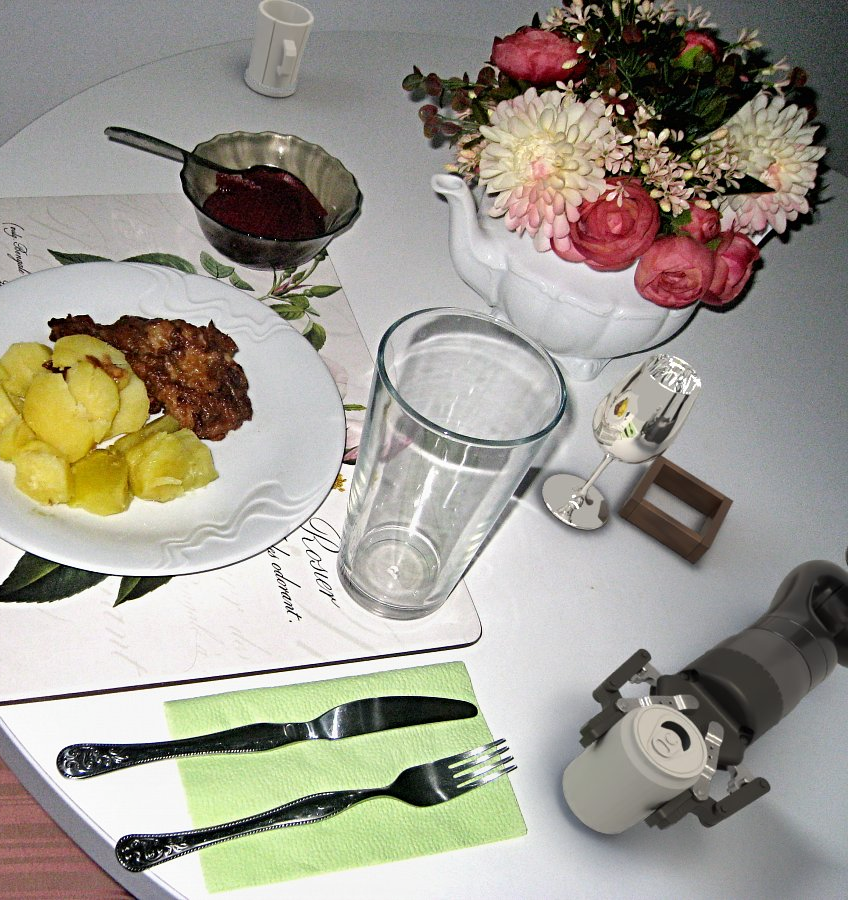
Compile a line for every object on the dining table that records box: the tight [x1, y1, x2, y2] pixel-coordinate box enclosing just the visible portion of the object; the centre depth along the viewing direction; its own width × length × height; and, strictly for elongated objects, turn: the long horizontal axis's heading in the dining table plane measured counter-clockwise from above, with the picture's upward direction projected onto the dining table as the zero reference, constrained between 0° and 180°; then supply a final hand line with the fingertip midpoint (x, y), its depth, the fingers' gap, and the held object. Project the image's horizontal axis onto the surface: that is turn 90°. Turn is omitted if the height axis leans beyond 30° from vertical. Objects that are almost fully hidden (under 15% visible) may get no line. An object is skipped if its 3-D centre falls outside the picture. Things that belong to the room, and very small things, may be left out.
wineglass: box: [541, 352, 703, 530], centre depth 91 cm, size 8×8×20 cm
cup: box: [243, 0, 315, 98], centre depth 143 cm, size 10×9×12 cm
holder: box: [617, 454, 734, 565], centre depth 99 cm, size 9×9×3 cm
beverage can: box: [562, 704, 707, 835], centre depth 71 cm, size 6×6×12 cm
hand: (618, 779), depth 69 cm, fingers closed on beverage can, 6 cm apart
